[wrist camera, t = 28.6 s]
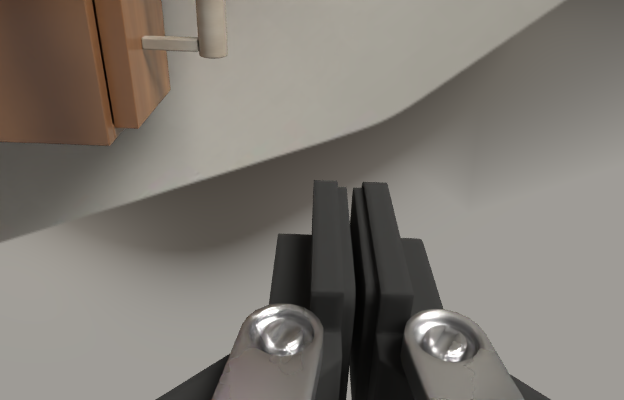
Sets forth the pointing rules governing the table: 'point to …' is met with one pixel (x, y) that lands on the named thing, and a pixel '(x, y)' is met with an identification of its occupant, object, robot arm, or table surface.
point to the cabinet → (52, 75)
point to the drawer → (148, 52)
